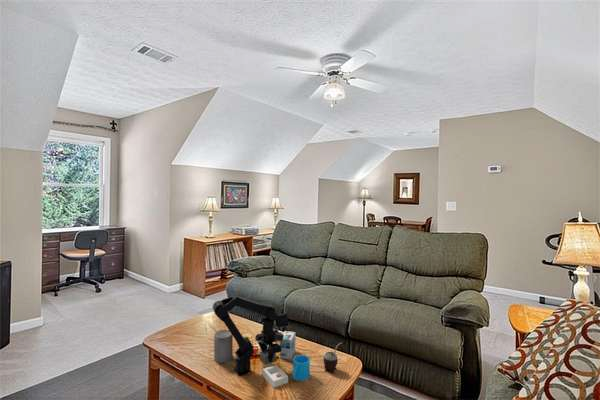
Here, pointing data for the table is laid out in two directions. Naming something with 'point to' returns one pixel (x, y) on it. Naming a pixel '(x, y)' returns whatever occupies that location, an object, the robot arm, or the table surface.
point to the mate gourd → (330, 360)
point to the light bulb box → (288, 345)
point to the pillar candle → (223, 346)
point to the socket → (275, 376)
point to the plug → (266, 359)
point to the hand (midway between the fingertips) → (267, 359)
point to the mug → (301, 367)
